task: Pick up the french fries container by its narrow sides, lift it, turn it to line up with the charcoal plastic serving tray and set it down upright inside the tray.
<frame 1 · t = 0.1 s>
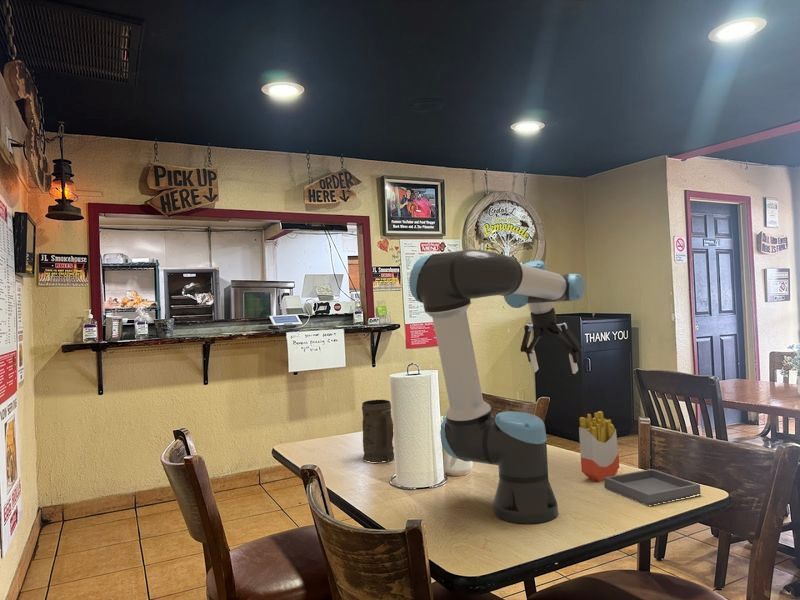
hand: (555, 371, 183), 28 cm above the table, tool tilted 20°, fingers open, 13 cm apart
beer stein: (383, 461, 191), on the table
french fries container: (601, 478, 159), on the table
serving tray: (651, 491, 146), on the table
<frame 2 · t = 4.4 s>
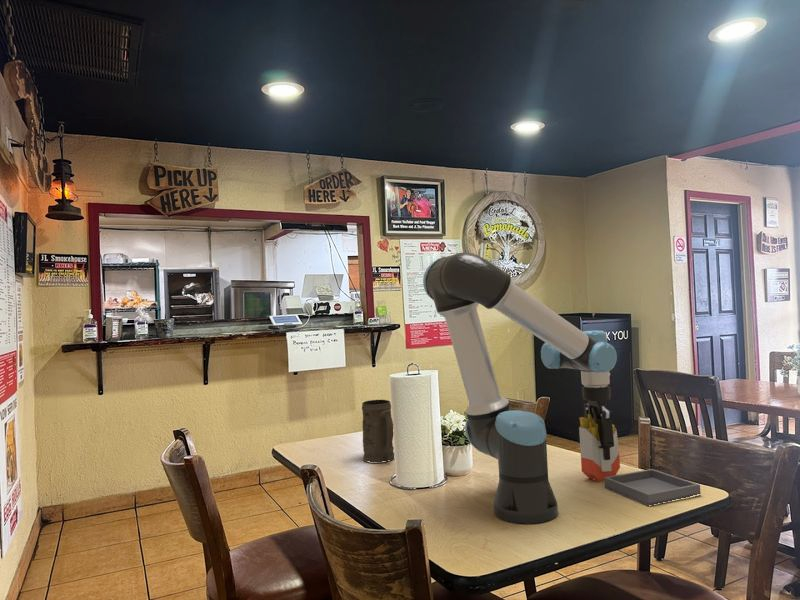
hand: (601, 467, 160), 3 cm above the table, tool pointing down, fingers closed on french fries container, 6 cm apart
french fries container: (602, 478, 159), on the table, touching gripper
everything else where it was.
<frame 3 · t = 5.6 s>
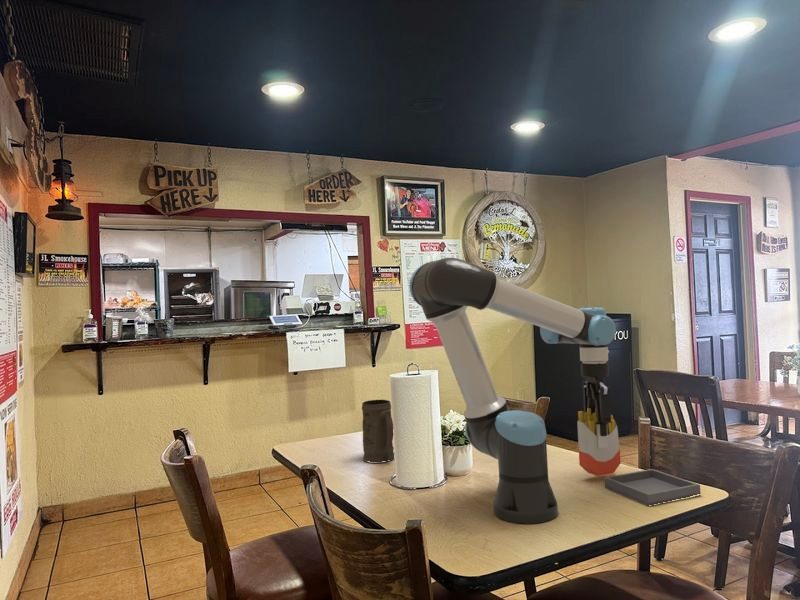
hand: (598, 444, 159), 9 cm above the table, tool pointing down, fingers closed on french fries container, 5 cm apart
french fries container: (600, 473, 159), point 1 cm above the table, touching gripper
everything else where it was.
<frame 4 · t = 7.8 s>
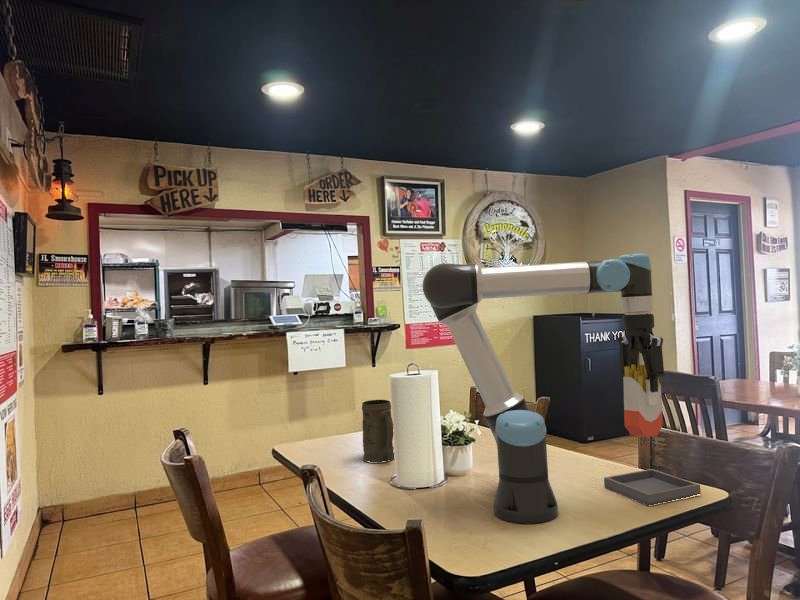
hand: (643, 402, 147), 23 cm above the table, tool pointing down, fingers closed on french fries container, 5 cm apart
french fries container: (644, 435, 146), point 15 cm above the table, touching gripper
everything else where it was.
when the fingers open (10 cm above the table, at t = 10.1 s): french fries container drops 2 cm, resting on serving tray.
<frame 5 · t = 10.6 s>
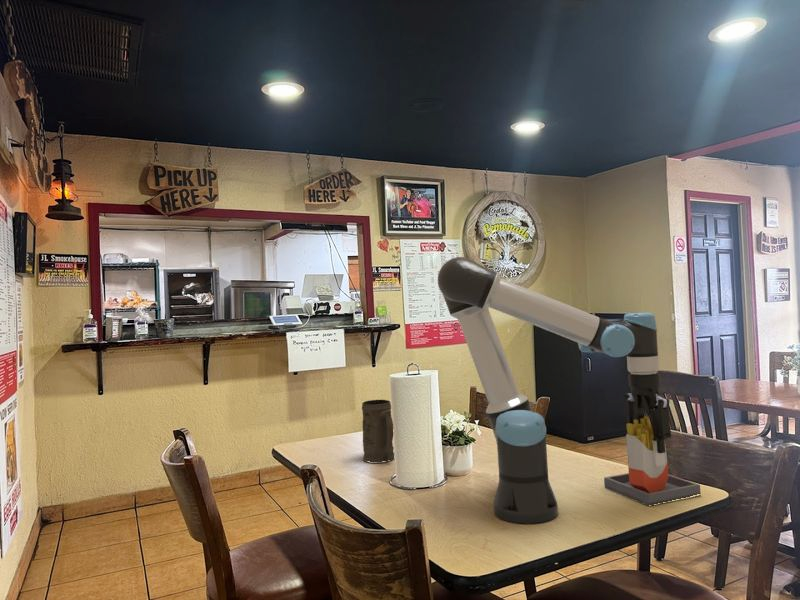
hand: (650, 462, 146), 8 cm above the table, tool pointing down, fingers open, 5 cm apart
french fries container: (650, 491, 145), point 1 cm above the table, touching serving tray
everything else where it was.
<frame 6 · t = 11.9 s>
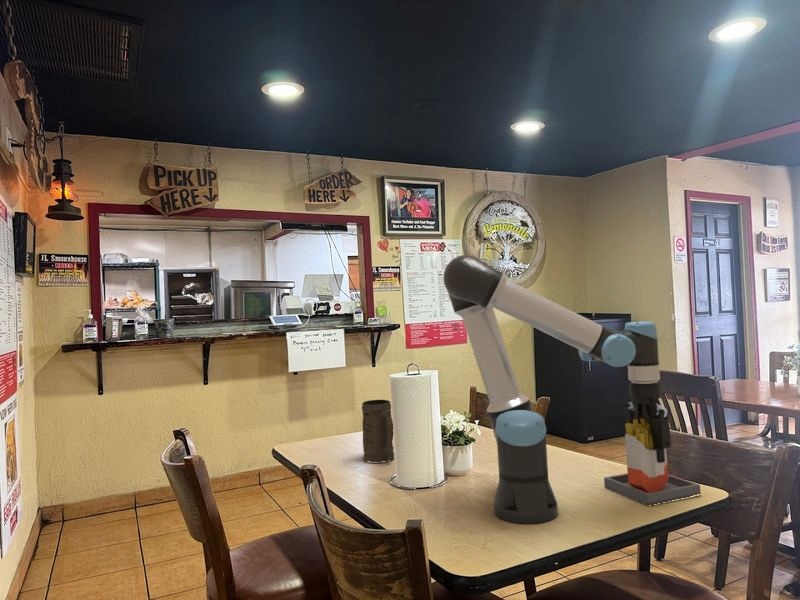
hand: (650, 471, 146), 5 cm above the table, tool pointing down, fingers closed on french fries container, 5 cm apart
french fries container: (649, 490, 145), point 1 cm above the table, touching gripper, serving tray
everything else where it was.
when the fingers open (5 cm above the table, at t = 11.9 s): french fries container stays where it is, resting on serving tray.
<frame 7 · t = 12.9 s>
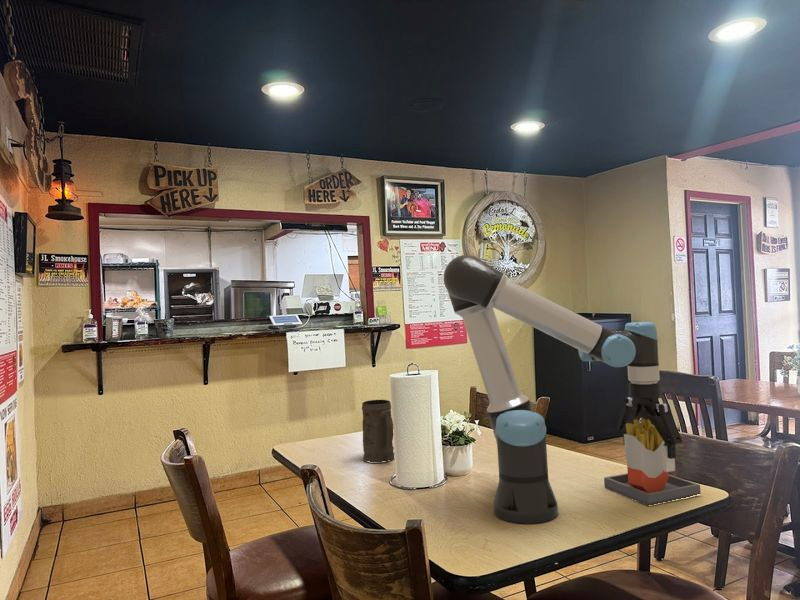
hand: (649, 464, 146), 7 cm above the table, tool pointing down, fingers open, 13 cm apart
french fries container: (649, 490, 145), point 1 cm above the table, touching serving tray
everything else where it was.
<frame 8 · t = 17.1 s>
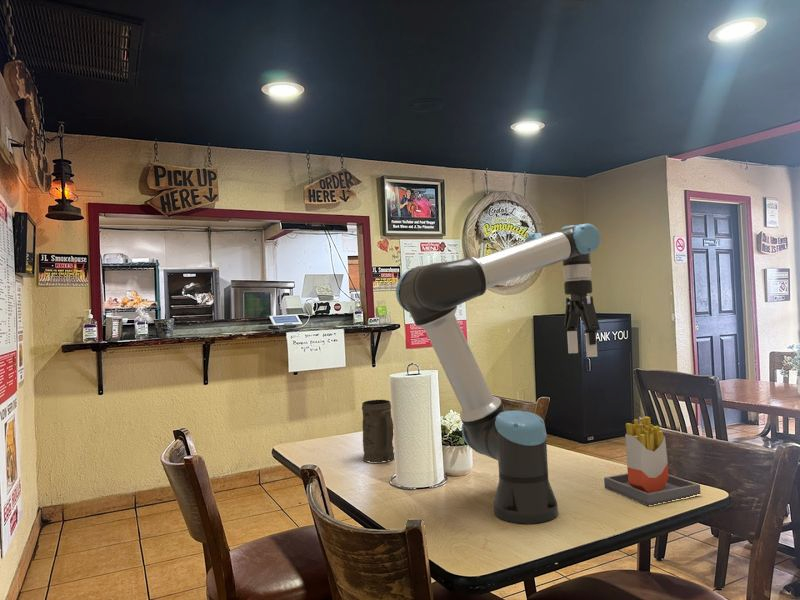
hand: (582, 355, 161), 35 cm above the table, tool pointing down, fingers open, 13 cm apart
nothing on the table moved.
at the end: french fries container 1.2 cm off-centre on the serving tray, point 0.6 cm above the serving tray's base; french fries container tilted 0°; the gripper is holding nothing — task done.
